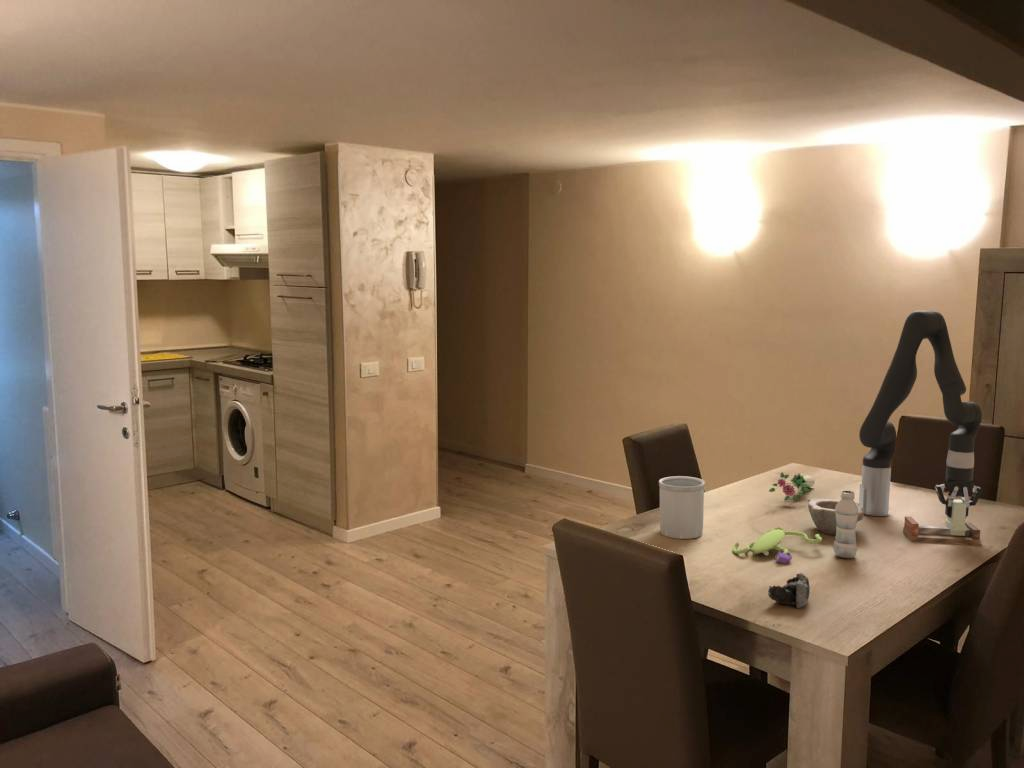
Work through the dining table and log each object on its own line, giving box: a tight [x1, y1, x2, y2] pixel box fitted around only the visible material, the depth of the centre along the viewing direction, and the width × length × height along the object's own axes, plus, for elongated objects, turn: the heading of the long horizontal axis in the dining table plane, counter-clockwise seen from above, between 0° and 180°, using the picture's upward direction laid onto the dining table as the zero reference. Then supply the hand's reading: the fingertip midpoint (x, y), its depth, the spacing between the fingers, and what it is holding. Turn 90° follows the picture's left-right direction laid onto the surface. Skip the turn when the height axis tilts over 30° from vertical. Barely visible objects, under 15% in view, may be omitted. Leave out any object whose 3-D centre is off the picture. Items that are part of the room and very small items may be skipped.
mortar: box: [807, 497, 865, 536], centre depth 266 cm, size 17×17×9 cm
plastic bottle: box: [833, 490, 859, 559], centre depth 240 cm, size 6×7×20 cm
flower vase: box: [768, 471, 815, 502], centre depth 307 cm, size 12×12×35 cm
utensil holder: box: [658, 475, 706, 540], centre depth 264 cm, size 15×15×18 cm
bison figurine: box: [767, 571, 811, 609], centre depth 208 cm, size 12×7×10 cm
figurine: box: [732, 526, 823, 564], centre depth 247 cm, size 18×27×6 cm
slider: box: [944, 498, 967, 536], centre depth 257 cm, size 4×7×10 cm, turn 169°
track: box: [902, 516, 982, 546], centre depth 258 cm, size 20×10×6 cm, turn 79°
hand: (956, 517), depth 257 cm, fingers closed on slider, 3 cm apart
